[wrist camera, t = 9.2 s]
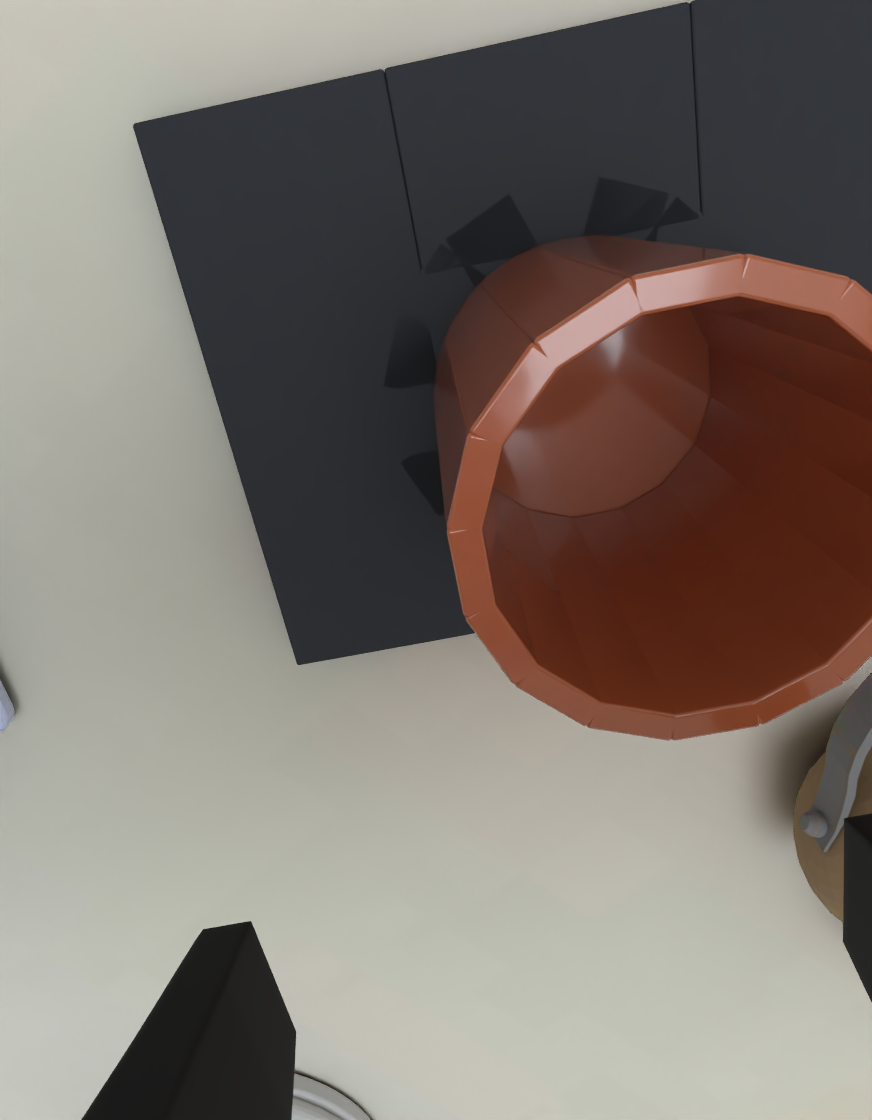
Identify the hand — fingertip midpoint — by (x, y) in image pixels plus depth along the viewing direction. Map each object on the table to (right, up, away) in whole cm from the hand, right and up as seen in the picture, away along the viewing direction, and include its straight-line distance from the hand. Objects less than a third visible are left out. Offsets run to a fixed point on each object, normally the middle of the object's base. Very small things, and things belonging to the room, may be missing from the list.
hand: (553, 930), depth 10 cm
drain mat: (+2, +9, +6) cm, 11 cm away
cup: (+1, +8, +6) cm, 10 cm away
